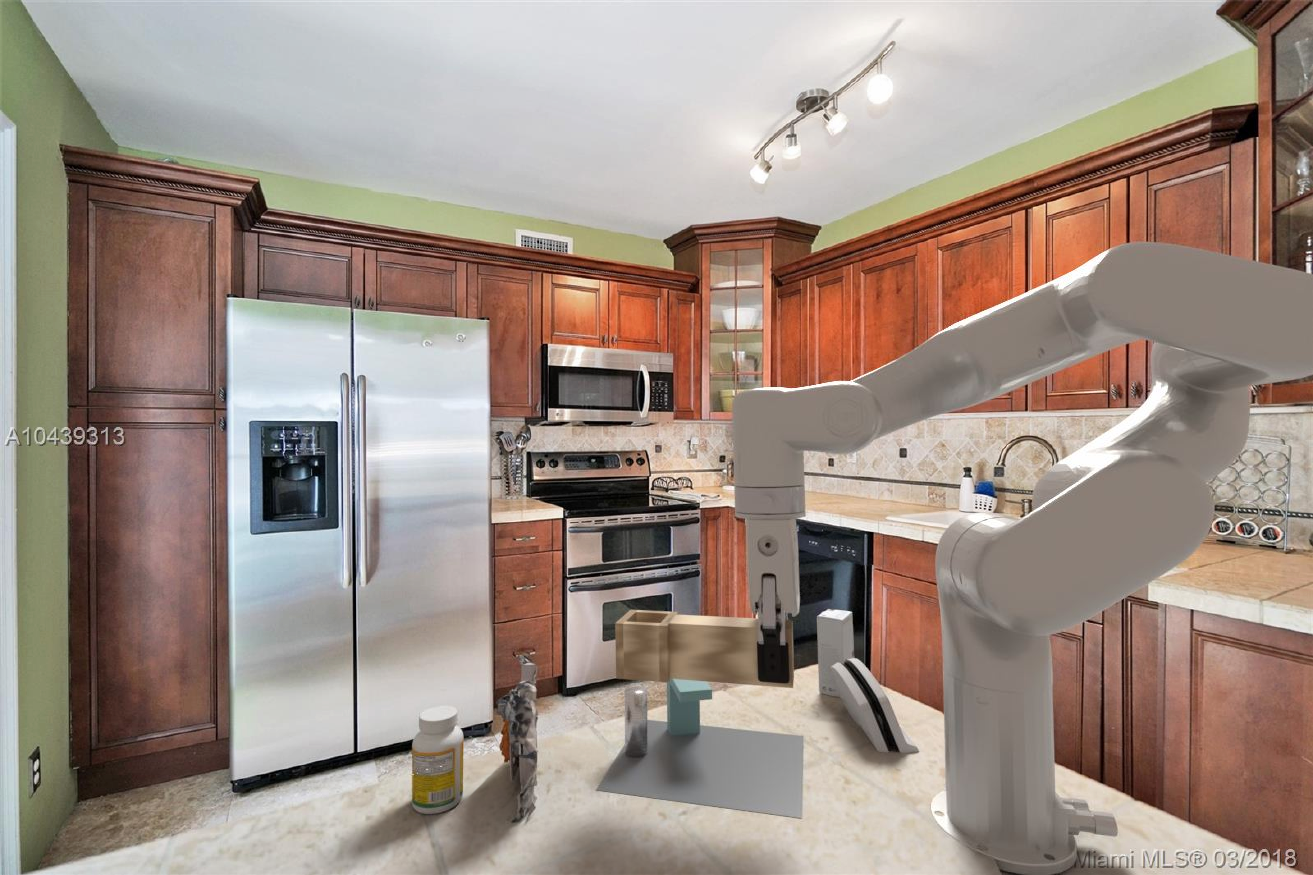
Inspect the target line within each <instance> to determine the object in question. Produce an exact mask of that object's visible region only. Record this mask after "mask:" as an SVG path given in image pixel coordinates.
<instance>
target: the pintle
mask: <svg viewBox="0 0 1313 875" xmlns="http://www.w3.org/2000/svg"><path fill="white" fill-rule="evenodd" d="M647 720H648V689H647V688H646V687H643V686H638V685H636V686H630V687H629V686H628V687H627V688H625V689H624V745H625V754H626V755H627V756H628V757H632V758H640V757H643V756H645V755H647V753H648V728H647Z"/></svg>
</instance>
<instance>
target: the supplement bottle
mask: <svg viewBox="0 0 1313 875" xmlns="http://www.w3.org/2000/svg"><path fill="white" fill-rule="evenodd" d="M458 720H459V719H458V710H457V708H456V707H455V706H450V705H439V706H433V707H429V708H427V709H425V710H423V711H422V712H421V713H420V714H419V716H418V728H419V731H418V732H417V734H416V735H415V736H414V737H413V740H412V742H411V743H412V745H411V754H412V755H411V761H412V762H411V776H412V777H411V800H412V802H411V805H412V808H413V809H414V811H416V812H418V813H419V814H424V815H437V814H440V813H444V812H447V811H449V810H452V809H453V808H454V807H456V806H457V805H458V804H459V803H460V802H461V800H462V799H463V795H464V743H465V742H464V731H463V730H462V729H461V727H459V726H458V725H457V724H458ZM440 766H442V767H440ZM426 769H428V770H426ZM417 773H418V774H417ZM412 774H414V775H412Z"/></svg>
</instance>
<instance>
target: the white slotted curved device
mask: <svg viewBox="0 0 1313 875" xmlns="http://www.w3.org/2000/svg"><path fill="white" fill-rule="evenodd" d="M831 670H832V673H833V676H834V678H835V681H836V684H837V687H838V690H839V692H840V695H841V698H840V699H841V701H842V704H843V707H844V708H845V710H847V711H846V712H848V714H849V715H850V717H851V718H852V720H853V721H854V723H855V724H856V725H857V726H860V727H861V730H863V732H864V734H865V735H866V736H867V738H868V740H870V742H871V744H872V745H873V746H874V748H875V749H876V751H877V752H880V753H889V752H893V750H892V748H893V749H894V751H895V752H896V753H901V754H904V753H906V754H907V753H918V752H920V750H919V747H918V746H916V744H915V743H914V742H913V740H912V739H911V738H910V737H909V736H908V734H907V733H906V732H905V731H904V730H903V728H902V727H901V726H900V724H899V723H900V722H898V719H897V717H896V713H895V711H894V709H893V706H892V705H891V704H892V703H891V702H890V700H889V697H888V696H887V694H886V693H885V691H884V690H883V687H881V685H880V683H879V682H878V680H877V679H876V678H875V676H874V675H873V674H872V672H871V671H870V670H869V668H868V667H866V665H865V664H864V663H863V662H862V661H861V660H860V659H858V658H855V657H854V658H852V659H846V662H844V664H843V663H839V662H838V663H836V664H834V665H833V666H831ZM887 738H888V739H887Z"/></svg>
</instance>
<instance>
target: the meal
mask: <svg viewBox="0 0 1313 875" xmlns="http://www.w3.org/2000/svg"><path fill="white" fill-rule="evenodd" d="M517 658H518V662H519V664H520V665H521V674H520V675H521V678H520V681H519V682H517V683H516V684H517V686H516V687H515V688H512V689H511V690H509V691H508V693H507V694H506V695H504V696H502V697H500V698H498V700H497V701H495V705H494V707H495V708H496V713H497V715H498V716H500V717H501V718H502V722H503V723H504V724H503V727H502V730H500V735H502V736H501V740H500V743H499V750H500V751H501V756H503V757H504V760H503V761H504V762H503V763H504V764H505V763H509V772H510V781H511V782H514V780H515V778H516V775H517V772H518V770H519V777H520V778H519V780H520V793H519V794H517V795H516V799H517V812H516V813H517V815H516V816H515V817H514V819H512V820H511V821H510V822H511V823H517V821H518V820H519V819H521V818H524V817H525V815H526V812H528V814H527V817H526V820H525V821H527V820H528V819H529V818H530V816H531V815H532V814H533V813H534V811H535V810H536V809H537V807H536V805H535V804H536V803H537V802H536V801H537V799H538V797H537V796H536V794H535V787H537V786H538V781H537V780H538V779H537V778H538V777H537V768H538V764H537V763H538V752H539V750H538V749H539V748H538V740H537V739H538V737H537V723H538V720H539V719H538V716H539V712H538V710H537V706H536V702H537V701H538V700H537V688H536V687H537V686H536V684H537V680H536V679H537V676H538V675H537V672H538V664H535V663H533V660H532V659H531V658H529V657H527V656H525V655H520V654H518V655H517Z"/></svg>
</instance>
